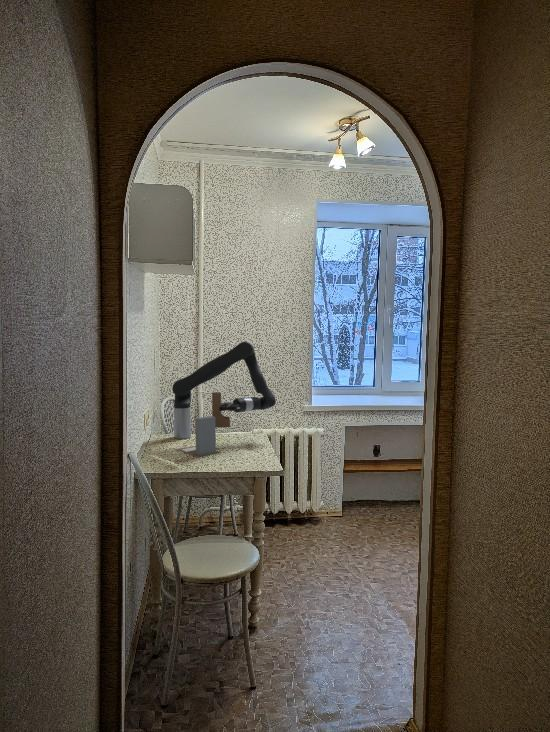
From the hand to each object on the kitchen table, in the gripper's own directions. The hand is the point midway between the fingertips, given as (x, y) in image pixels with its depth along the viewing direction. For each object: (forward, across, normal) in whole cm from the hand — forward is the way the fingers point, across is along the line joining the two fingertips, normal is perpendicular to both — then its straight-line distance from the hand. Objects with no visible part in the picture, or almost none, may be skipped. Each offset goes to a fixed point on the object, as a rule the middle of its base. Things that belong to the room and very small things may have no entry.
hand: (216, 408), depth 301 cm
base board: (+14, +5, +21) cm, 26 cm away
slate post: (+14, +12, +20) cm, 27 cm away
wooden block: (-2, 0, +10) cm, 10 cm away
